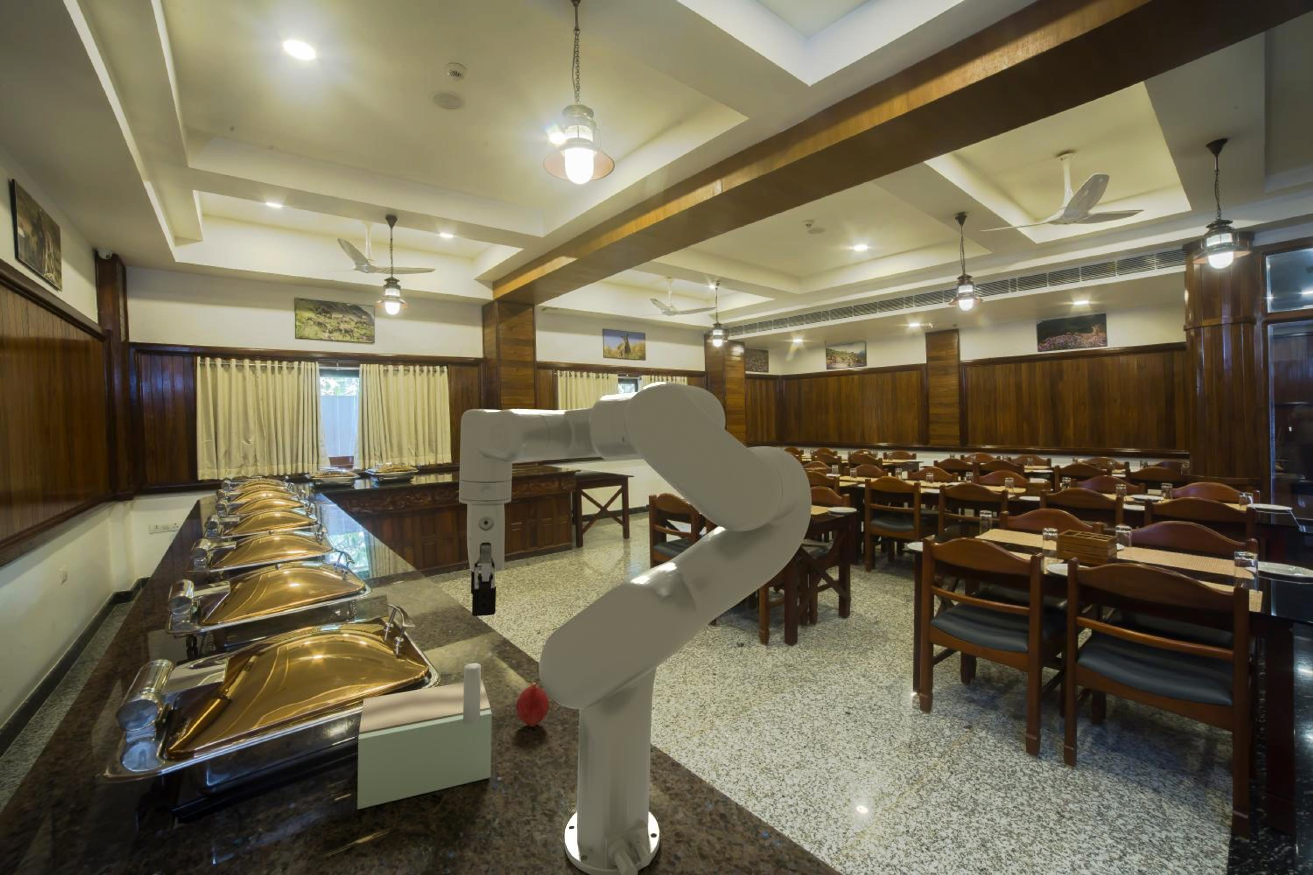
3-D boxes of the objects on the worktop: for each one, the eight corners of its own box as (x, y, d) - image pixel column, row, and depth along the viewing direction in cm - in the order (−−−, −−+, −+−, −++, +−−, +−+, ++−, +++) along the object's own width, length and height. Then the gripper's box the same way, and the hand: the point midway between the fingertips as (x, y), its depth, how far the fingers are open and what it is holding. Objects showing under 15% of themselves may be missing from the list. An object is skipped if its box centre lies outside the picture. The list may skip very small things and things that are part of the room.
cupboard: (489, 773, 86) (490, 707, 85) (358, 804, 78) (359, 731, 78) (480, 738, 95) (482, 679, 94) (363, 763, 87) (363, 698, 87)
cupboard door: (492, 784, 83) (494, 666, 82) (356, 817, 75) (357, 688, 74) (489, 772, 85) (491, 658, 85) (358, 803, 78) (359, 678, 77)
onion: (508, 729, 98) (509, 685, 98) (530, 714, 103) (531, 672, 103) (534, 738, 95) (535, 693, 95) (555, 722, 100) (556, 679, 100)
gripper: (516, 500, 76) (512, 622, 76) (506, 484, 92) (503, 584, 92) (458, 500, 73) (455, 627, 74) (459, 484, 89) (456, 587, 90)
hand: (482, 603), depth 83 cm, fingers open, 9 cm apart
